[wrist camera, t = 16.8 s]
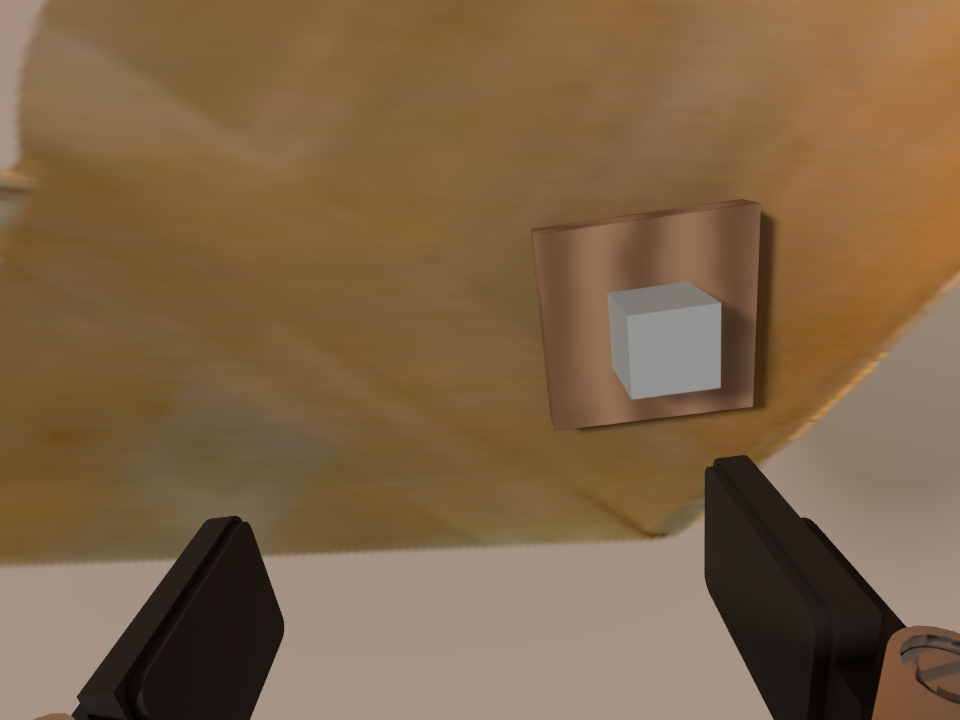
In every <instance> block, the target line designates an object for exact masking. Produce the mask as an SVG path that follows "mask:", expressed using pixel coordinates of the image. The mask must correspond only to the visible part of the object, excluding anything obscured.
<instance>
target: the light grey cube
mask: <svg viewBox="0 0 960 720" xmlns="http://www.w3.org/2000/svg"><path fill="white" fill-rule="evenodd" d="M607 295H608V309H609V324H610V339H611V354H612V367H613V369H614V370H615V372H616V374H617V376H618V377H619V379H620V381H621V382H622V384H623V386H624V388H625V389H626V391H627V393H628V394H629V396H630V398H631V399H632V400H633V399H640V398H648V397H656V396H663V395H671V394H678V393H686V392H694V391H701V390H709V389H716V388H721V302H719V301H718V300H716V299H715V298H713V297H712V296H710V295H709V294H707V293H705V292H704V291H702V290H701V289H699V288H698V287H696V286H695V285H693V284H692V283H690V282H689V281H688V282H681V283H674V284H667V285H660V286H653V287H646V288H639V289H632V290H625V291H618V292H611V293H607Z"/></svg>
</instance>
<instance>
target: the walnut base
mask: <svg viewBox="0 0 960 720" xmlns="http://www.w3.org/2000/svg"><path fill="white" fill-rule="evenodd" d="M760 214H761V203H758V202H753V201H748V200H744V199H740V200H733V201H726V202H719V203H712V204H705V205H698V206H691V207H684V208H677V209H670V210H663V211H656V212H649V213H642V214H635V215H628V216H621V217H614V218H607V219H600V220H593V221H586V222H579V223H572V224H565V225H558V226H551V227H543V228H536V229H531V236H532V245H533V254H534V264H535V273H536V283H537V292H538V301H539V311H540V320H541V330H542V339H543V349H544V358H545V367H546V377H547V386H548V396H549V405H550V414H551V418H552V422H553V426H554V430H555V431H558V430H566V429H575V428H583V427H591V426H599V425H607V424H615V423H623V422H632V421H640V420H648V419H656V418H664V417H672V416H680V415H689V414H697V413H705V412H713V411H721V410H729V409H738V408H746V407H753V390H754V365H755V340H756V315H757V289H758V264H759V239H760ZM688 281H689V282H690V283H692V284H693V285H695V286H696V287H698V288H699V289H701V290H702V291H704V292H705V293H707V294H709V295H710V296H712V297H713V298H715V299H716V300H718V301H719V302H721V388H716V389H709V390H701V391H694V392H686V393H678V394H671V395H663V396H656V397H648V398H640V399H633V400H632V399H631V398H630V396H629V394H628V393H627V391H626V389H625V388H624V386H623V384H622V382H621V381H620V379H619V377H618V376H617V374H616V372H615V370H614V369H613V367H612V354H611V339H610V324H609V309H608V295H607V293H611V292H618V291H625V290H632V289H639V288H646V287H653V286H660V285H667V284H674V283H681V282H688Z"/></svg>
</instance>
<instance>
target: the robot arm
mask: <svg viewBox="0 0 960 720" xmlns="http://www.w3.org/2000/svg"><path fill="white" fill-rule="evenodd" d="M705 581H706V585H707V588H708V591H709V593H710V595H711V597H712V599H713V601H714V603H715V605H716V607H717V609H718V611H719V613H720V615H721V617H722V619H723V621H724V623H725V625H726V627H727V629H728V631H729V633H730V635H731V637H732V638H733V640H734V642H735V644H736V646H737V648H738V650H739V652H740V654H741V656H742V658H743V660H744V662H745V664H746V666H747V668H748V670H749V672H750V674H751V676H752V678H753V680H754V682H755V684H756V686H757V688H758V690H759V692H760V694H761V696H762V698H763V700H764V701H765V703H766V705H767V707H768V709H769V711H770V713H771V715H772V717H773V719H774V720H960V634H959V633H957V632H954V631H950V630H946V629H942V628H938V627H930V626H912V627H906V626H905V625H904V624H903V623H902V621H901V620H900V619H899V618H898V617H897V616H896V615H895V614H894V612H893V611H892V610H891V609H890V608H889V607H888V606H887V604H886V603H885V602H884V601H883V600H882V599H881V597H880V596H879V595H878V594H877V593H876V592H875V591H874V590H873V588H872V587H871V586H870V585H869V584H868V583H867V582H866V580H865V579H864V578H863V577H862V576H861V575H860V574H859V573H858V571H857V570H856V569H855V568H854V567H853V566H852V565H851V563H850V562H849V561H848V560H847V559H846V558H845V557H844V556H843V554H842V553H841V552H840V551H839V550H838V549H837V548H836V546H835V545H834V544H833V543H832V542H831V541H830V540H829V539H828V537H827V536H826V535H825V534H824V533H823V532H822V531H821V529H820V528H819V527H818V526H817V525H816V524H815V523H814V522H813V521H811V520H810V519H808V518H800V517H799V515H798V514H797V513H796V512H795V511H794V510H793V508H792V507H791V506H790V505H789V504H788V503H787V501H786V500H785V499H784V498H783V497H782V496H781V494H780V493H779V492H778V491H777V490H776V489H775V487H774V486H773V485H772V484H771V483H770V482H769V480H768V479H767V478H766V477H765V476H764V475H763V473H762V472H761V471H760V470H759V469H758V468H757V466H756V465H755V464H754V463H753V462H752V461H751V459H750V458H749V457H748V456H746V455H741V456H733V457H724V458H717V459H715V461H714V463H713V466H711V467H707V468H706V470H705ZM283 634H284V621H283V617H282V614H281V611H280V608H279V605H278V602H277V600H276V597H275V594H274V591H273V588H272V585H271V583H270V580H269V577H268V574H267V571H266V569H265V565H264V562H263V560H262V557H261V554H260V551H259V548H258V545H257V543H256V540H255V537H254V534H253V531H252V528H251V526H250V524H249V523H248V522H243V521H242V519H241V518H240V517H238V516H229V517H221V518H213V519H209V520H207V521H206V522H205V523H204V524H203V525H202V527H201V528H200V529H199V531H198V532H197V533H196V535H195V536H194V538H193V539H192V540H191V542H190V543H189V544H188V546H187V547H186V548H185V550H184V551H183V553H182V554H181V555H180V557H179V558H178V559H177V561H176V562H175V563H174V565H173V566H172V568H171V569H170V570H169V572H168V573H167V574H166V576H165V577H164V578H163V580H162V581H161V583H160V584H159V586H158V587H157V588H156V589H155V591H154V592H153V593H152V595H151V596H150V598H149V599H148V600H147V602H146V603H145V604H144V606H143V607H142V608H141V610H140V611H139V613H138V614H137V615H136V617H135V618H134V619H133V621H132V622H131V623H130V625H129V626H128V628H127V629H126V630H125V632H124V633H123V634H122V636H121V637H120V639H119V640H118V641H117V643H116V644H115V645H114V647H113V648H112V649H111V651H110V652H109V654H108V655H107V656H106V658H105V659H104V660H103V662H102V663H101V664H100V666H99V667H98V669H97V670H96V671H95V673H94V674H93V675H92V677H91V678H90V679H89V681H88V682H87V683H86V685H85V686H84V688H83V689H82V690H81V692H80V693H79V694H78V696H77V698H78V700H79V701H80V704H79V705H78V707H77V708H76V710H75V711H74V712H73V714H72V715H71V716H70V715H67V714H65V713H55V714H54V713H53V714H49V715H46V716H42V717H39V718H36V719H34V720H250V718H251V716H252V713H253V711H254V708H255V705H256V703H257V701H258V698H259V696H260V693H261V691H262V688H263V686H264V683H265V680H266V678H267V676H268V673H269V670H270V668H271V666H272V663H273V661H274V658H275V656H276V653H277V651H278V648H279V646H280V644H281V641H282V638H283Z"/></svg>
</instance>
